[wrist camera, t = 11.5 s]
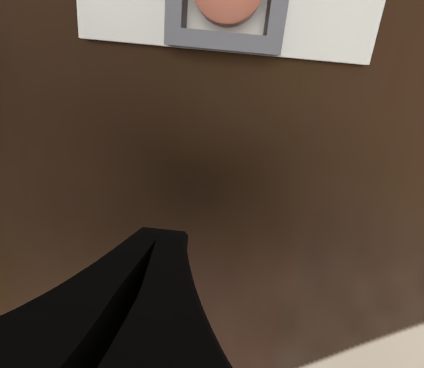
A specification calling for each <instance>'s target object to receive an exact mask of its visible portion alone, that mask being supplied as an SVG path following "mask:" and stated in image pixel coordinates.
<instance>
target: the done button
mask: <svg viewBox="0 0 424 368" xmlns="http://www.w3.org/2000/svg"><path fill="white" fill-rule="evenodd" d="M194 1H195V3H196V5H197V6H198V8H199V10H200V11H201V13H202V14H203V16H204V17H205V18H206V19H207V20H208V21H209V22H211V23H212V24H214V25H216V26H219V27H224V28H231V27H236V26H239V25H241V24H243V23H245V22H246V21H247V20H248V19H250V18H251V17H252V15H253V14H254V13H255V11H256V10H257V8H258V6H259V4H260V2H261V0H194Z"/></svg>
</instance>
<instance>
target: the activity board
mask: <svg viewBox="0 0 424 368" xmlns="http://www.w3.org/2000/svg"><path fill="white" fill-rule="evenodd" d="M76 1H77V17H78V33H79V38H83V39H91V40H102V41H113V42H123V43H134V44H145V45H155V46H166V47H177V48H188V49H198V50H209V51H220V52H230V53H241V54H252V55H262V56H273V57H284V58H295V59H305V60H316V61H327V62H337V63H348V64H359V65H369V64H370V60H371V56H372V52H373V48H374V44H375V40H376V36H377V32H378V28H379V24H380V20H381V16H382V12H383V8H384V5H385V1H386V0H261V2H260V4H259V6H258V8H257V10H256V11H255V13H254V14H253V15H252V17H251V18H250V19H248V20H247V21H246V22H245V23H243V24H241V25H239V26H236V27H231V28H224V27H219V26H216V25H214V24H212V23H211V22H209V21H208V20H207V19H206V18H205V17H204V16H203V14H202V13H201V11H200V10H199V8H198V6H197V5H196V3H195V1H194V0H76Z"/></svg>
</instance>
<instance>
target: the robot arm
mask: <svg viewBox="0 0 424 368" xmlns="http://www.w3.org/2000/svg"><path fill="white" fill-rule="evenodd" d="M187 244H188V235H187V234H186V233H185V231H175V230H165V229H156V228H146V227H143V228H141V229H140V230H138V231H137V232H136V233H134V234H133V235H132V236H130V237H129V238H128V239H126V240H125V241H124V242H122V243H121V244H120V245H118V246H117V247H116V248H114V249H113V250H112V251H110V252H109V253H107V254H106V255H105V256H103V257H102V258H100V259H99V260H98V261H96V262H95V263H93V264H92V265H90V266H89V267H87V268H85V269H84V270H82V271H81V272H79V273H78V274H76V275H75V276H73V277H72V278H70V279H68V280H67V281H65V282H64V283H62V284H60V285H59V286H57V287H55V288H53V289H52V290H50V291H48V292H46V293H45V294H43V295H41V296H39V297H37V298H35V299H33V300H31V301H30V302H28V303H26V304H24V305H22V306H20V307H18V308H16V309H14V310H12V311H10V312H8V313H6V314H3V315H1V316H0V368H232V366H231V364H230V363H229V361H228V359H227V357H226V356H225V354H224V352H223V350H222V348H221V346H220V344H219V342H218V340H217V338H216V336H215V334H214V332H213V330H212V328H211V326H210V324H209V322H208V319H207V317H206V315H205V312H204V310H203V307H202V305H201V302H200V299H199V297H198V294H197V291H196V288H195V285H194V281H193V278H192V274H191V270H190V266H189V261H188V254H187Z"/></svg>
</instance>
